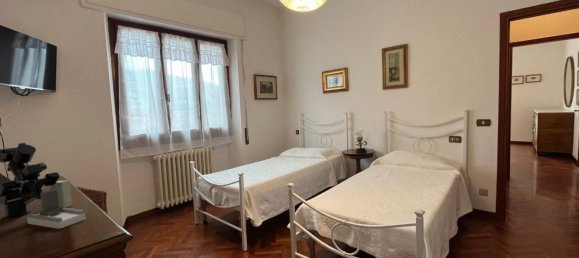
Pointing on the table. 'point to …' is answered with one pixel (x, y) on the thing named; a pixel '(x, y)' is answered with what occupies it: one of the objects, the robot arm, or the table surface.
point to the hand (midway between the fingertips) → (41, 198)
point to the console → (57, 218)
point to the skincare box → (63, 193)
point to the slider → (50, 203)
